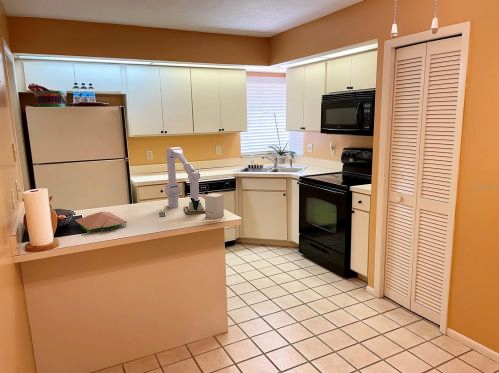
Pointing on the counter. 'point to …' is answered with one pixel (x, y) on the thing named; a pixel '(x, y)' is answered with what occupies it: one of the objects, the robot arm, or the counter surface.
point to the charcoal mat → (162, 214)
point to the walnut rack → (194, 211)
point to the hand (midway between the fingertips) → (195, 208)
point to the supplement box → (214, 205)
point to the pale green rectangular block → (193, 207)
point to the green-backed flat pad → (100, 221)
